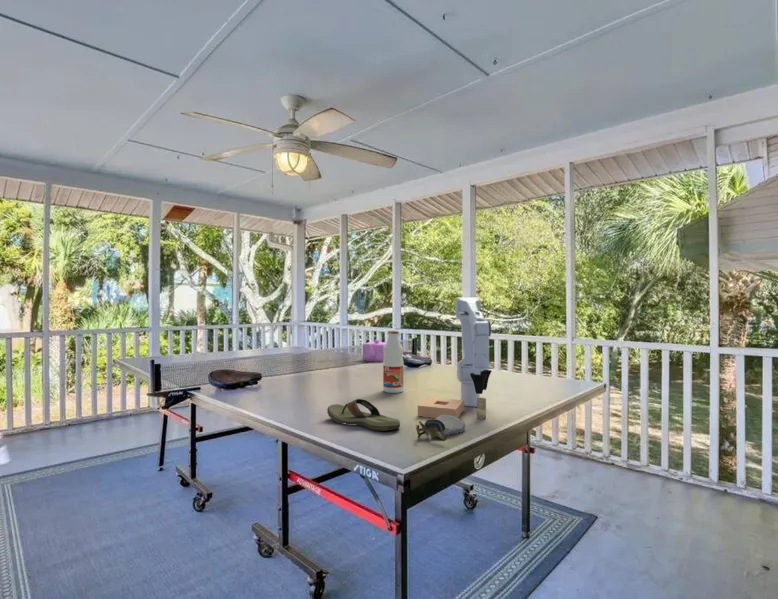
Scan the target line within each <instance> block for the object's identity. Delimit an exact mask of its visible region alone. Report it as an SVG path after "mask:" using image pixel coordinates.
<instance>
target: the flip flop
mask: <svg viewBox="0 0 778 599" xmlns="http://www.w3.org/2000/svg"><path fill="white" fill-rule="evenodd" d="M358 404H359V405H361V406H362V407H364V408H366V409H368V411H369V412H366V411H362V410H361V409H360V408H359V406H358ZM326 413H327V416H329V418H330V419H331V420H332V421H334V422H335V423H337V422H339V423H338V424H340V423H346V424H356V425H355V426H358V425H361V426H363V427H365V428H367V429H369V430H372V431H377V432H378V431H380V432H384V431H385V432H386V431H392V430H398V429H399V428H400V426H401V421H400V419H399V418H393V417H390V416H386V415H383V414H381V413H380V410H379V409H378V408H377V407H376V406H375V405H374V404H372V403H371V402H370V401H368V400H367V399H363V398H362V399H361V398H356V399H355V400H352V401H349V402H348V403H346V404H345V405H342V404H337V403H336V404H329V406H328V407H327V412H326ZM361 426H360V427H361Z"/></svg>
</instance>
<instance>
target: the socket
mask: <svg viewBox="0 0 778 599" xmlns="http://www.w3.org/2000/svg"><path fill="white" fill-rule="evenodd" d="M463 411H464V412H465V406H464V400H461V399H452V398H444V397H443V398H441V397H430V396H428V397H427V398H426V399H424V400H423V401H422V402H420V403H419V404H418V405H417V417H419V416H423V417H422V418H428V417H431V418H430V419H435V418H437V417H438V416H440V415H451V416H455V417H457V418H460V416H461V415H462V414H463V413H464V412H463ZM462 412H463V413H462ZM461 413H462V414H461ZM460 414H461V415H460Z"/></svg>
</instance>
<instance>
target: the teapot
mask: <svg viewBox="0 0 778 599" xmlns="http://www.w3.org/2000/svg"><path fill="white" fill-rule="evenodd" d="M386 343H387V342H382V341H380V339H374V340H373V341H369V342H365V343H363V344H362V361H363V360H366V361H365V362H373V361H374V362H375V363H383V361H384V357H385V355H384V347H385V345H386ZM374 362H373V363H374Z"/></svg>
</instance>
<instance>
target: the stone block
mask: <svg viewBox="0 0 778 599" xmlns="http://www.w3.org/2000/svg"><path fill="white" fill-rule="evenodd" d="M435 419H436V420H439V421H441V422H443V424H444V425H445V428H446V429H445V430H444V432H439V433H441V435H442V436H444V437H447V436H446V435H448V436H451V435H450V434H452V435H454V434H453V433H457V432H460V433H462V432H461V431H463V432H464V430H465V429H466V422H465V421H464V420H463V419H461V418H460V417H458V418H457V417H455V416H451V415H440V416H438V417H437V418H434V420H435ZM457 434H458V433H457Z"/></svg>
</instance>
